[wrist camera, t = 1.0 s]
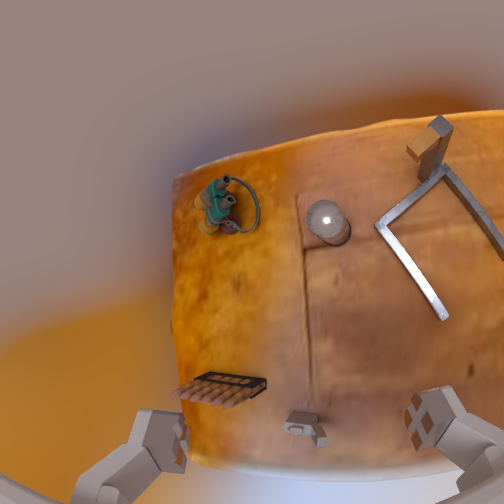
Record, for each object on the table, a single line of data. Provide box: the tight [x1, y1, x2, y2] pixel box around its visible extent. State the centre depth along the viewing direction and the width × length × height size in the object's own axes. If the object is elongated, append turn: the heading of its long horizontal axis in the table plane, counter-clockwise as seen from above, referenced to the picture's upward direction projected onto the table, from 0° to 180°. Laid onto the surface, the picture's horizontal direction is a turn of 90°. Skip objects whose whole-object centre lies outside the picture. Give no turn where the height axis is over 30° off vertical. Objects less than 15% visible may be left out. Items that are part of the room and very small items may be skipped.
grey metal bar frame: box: [374, 114, 504, 321], centre depth 29 cm, size 14×18×16 cm
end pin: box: [306, 200, 351, 247], centre depth 39 cm, size 5×5×9 cm
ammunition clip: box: [170, 371, 266, 409], centre depth 42 cm, size 11×2×12 cm, turn 91°
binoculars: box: [194, 174, 259, 235], centre depth 46 cm, size 9×9×10 cm
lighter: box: [284, 412, 327, 448], centre depth 38 cm, size 7×2×8 cm, turn 89°
